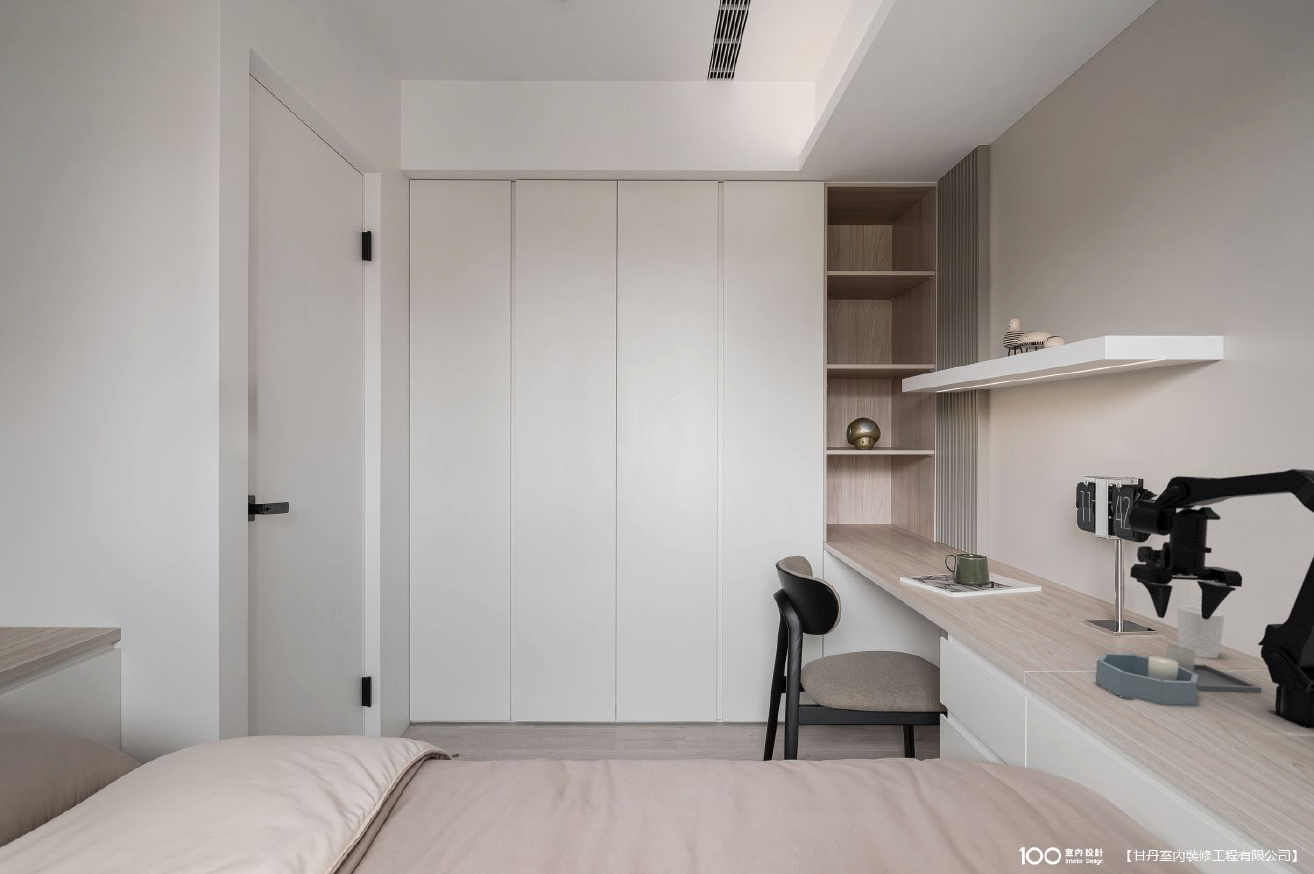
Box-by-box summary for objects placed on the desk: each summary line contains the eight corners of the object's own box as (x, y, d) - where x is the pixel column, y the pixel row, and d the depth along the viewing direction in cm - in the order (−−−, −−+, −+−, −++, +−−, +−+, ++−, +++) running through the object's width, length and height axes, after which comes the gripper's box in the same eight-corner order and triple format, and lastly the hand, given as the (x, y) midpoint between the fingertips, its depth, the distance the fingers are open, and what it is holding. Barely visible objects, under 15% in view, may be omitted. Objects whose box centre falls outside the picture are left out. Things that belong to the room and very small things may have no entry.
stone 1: (1160, 690, 122) (1161, 663, 121) (1141, 681, 126) (1142, 655, 126) (1183, 691, 122) (1184, 664, 122) (1163, 682, 126) (1165, 655, 126)
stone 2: (1199, 678, 130) (1201, 653, 130) (1177, 677, 130) (1179, 652, 130) (1180, 670, 135) (1182, 645, 135) (1159, 669, 135) (1161, 645, 134)
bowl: (1218, 709, 117) (1220, 683, 117) (1137, 706, 116) (1139, 681, 116) (1152, 677, 131) (1153, 654, 131) (1080, 675, 131) (1081, 652, 131)
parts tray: (1260, 695, 124) (1261, 687, 124) (1194, 693, 124) (1194, 685, 124) (1204, 671, 136) (1205, 664, 136) (1143, 669, 136) (1144, 662, 136)
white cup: (1229, 663, 143) (1232, 617, 142) (1188, 659, 144) (1190, 613, 144) (1207, 651, 150) (1210, 607, 150) (1167, 647, 152) (1170, 604, 152)
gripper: (1197, 535, 140) (1193, 608, 141) (1112, 531, 139) (1108, 605, 140) (1247, 544, 129) (1242, 624, 130) (1154, 540, 128) (1150, 621, 129)
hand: (1183, 618), depth 132 cm, fingers open, 9 cm apart
